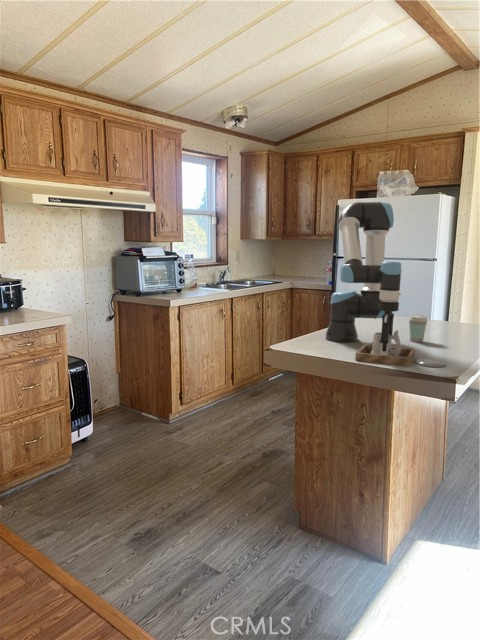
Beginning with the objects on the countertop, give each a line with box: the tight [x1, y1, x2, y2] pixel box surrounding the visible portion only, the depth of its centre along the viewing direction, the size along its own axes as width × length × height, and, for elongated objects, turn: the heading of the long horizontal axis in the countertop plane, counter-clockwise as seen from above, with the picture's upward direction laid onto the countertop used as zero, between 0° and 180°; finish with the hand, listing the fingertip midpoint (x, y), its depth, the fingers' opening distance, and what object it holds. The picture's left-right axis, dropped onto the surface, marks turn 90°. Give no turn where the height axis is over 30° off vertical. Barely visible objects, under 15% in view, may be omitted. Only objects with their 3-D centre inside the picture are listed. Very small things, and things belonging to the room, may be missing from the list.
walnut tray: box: [355, 343, 416, 367], centre depth 194 cm, size 20×18×3 cm
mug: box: [370, 330, 402, 357], centre depth 193 cm, size 8×12×12 cm, turn 58°
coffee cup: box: [408, 314, 428, 343], centre depth 228 cm, size 8×8×12 cm
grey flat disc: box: [414, 358, 446, 368], centre depth 186 cm, size 11×11×1 cm
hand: (385, 356), depth 194 cm, fingers closed on mug, 7 cm apart
